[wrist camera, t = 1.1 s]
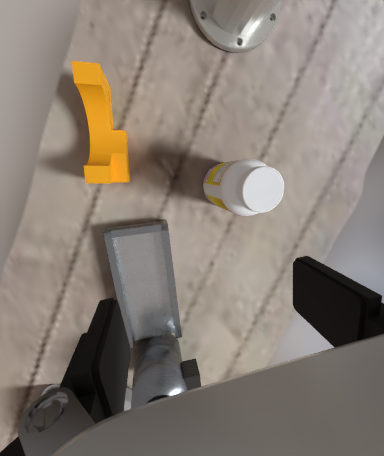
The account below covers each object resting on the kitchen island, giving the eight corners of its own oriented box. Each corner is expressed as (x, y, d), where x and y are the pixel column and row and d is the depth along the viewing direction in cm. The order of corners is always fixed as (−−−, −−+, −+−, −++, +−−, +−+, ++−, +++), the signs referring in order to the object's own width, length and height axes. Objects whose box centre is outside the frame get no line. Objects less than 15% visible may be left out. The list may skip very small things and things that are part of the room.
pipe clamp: (130, 181, 31) (125, 183, 25) (98, 181, 30) (85, 183, 24) (124, 89, 28) (117, 65, 22) (89, 86, 27) (71, 60, 21)
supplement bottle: (242, 203, 35) (291, 219, 23) (203, 207, 34) (233, 226, 22) (241, 161, 33) (294, 153, 21) (200, 164, 32) (231, 158, 20)
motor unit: (106, 227, 32) (82, 257, 20) (177, 218, 34) (190, 241, 22) (136, 373, 39) (130, 455, 28) (192, 359, 41) (209, 431, 30)
